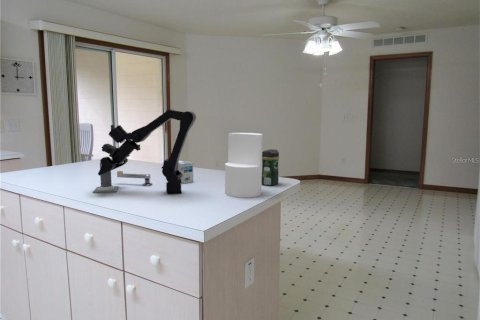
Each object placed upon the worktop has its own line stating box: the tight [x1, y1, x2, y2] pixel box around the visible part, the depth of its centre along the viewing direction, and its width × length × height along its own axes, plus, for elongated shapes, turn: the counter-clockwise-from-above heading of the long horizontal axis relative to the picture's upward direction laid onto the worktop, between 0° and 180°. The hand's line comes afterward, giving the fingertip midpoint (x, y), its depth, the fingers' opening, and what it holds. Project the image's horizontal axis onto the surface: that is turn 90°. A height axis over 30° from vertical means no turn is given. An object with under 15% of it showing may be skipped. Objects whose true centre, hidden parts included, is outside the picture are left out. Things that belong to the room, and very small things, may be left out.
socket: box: [92, 185, 120, 194], centre depth 166 cm, size 10×10×1 cm
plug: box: [99, 161, 114, 190], centre depth 165 cm, size 6×6×13 cm
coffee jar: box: [261, 148, 280, 187], centre depth 182 cm, size 10×8×19 cm
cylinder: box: [224, 132, 264, 198], centre depth 162 cm, size 17×17×28 cm
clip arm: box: [116, 170, 151, 180], centre depth 178 cm, size 18×3×3 cm, turn 82°
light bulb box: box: [178, 160, 194, 184], centre depth 187 cm, size 11×7×11 cm, turn 47°
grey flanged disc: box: [142, 178, 153, 187], centre depth 178 cm, size 5×5×3 cm
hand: (103, 172), depth 165 cm, fingers open, 9 cm apart
